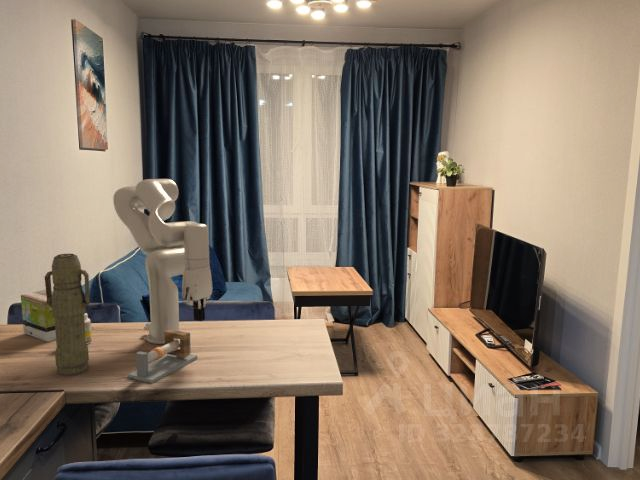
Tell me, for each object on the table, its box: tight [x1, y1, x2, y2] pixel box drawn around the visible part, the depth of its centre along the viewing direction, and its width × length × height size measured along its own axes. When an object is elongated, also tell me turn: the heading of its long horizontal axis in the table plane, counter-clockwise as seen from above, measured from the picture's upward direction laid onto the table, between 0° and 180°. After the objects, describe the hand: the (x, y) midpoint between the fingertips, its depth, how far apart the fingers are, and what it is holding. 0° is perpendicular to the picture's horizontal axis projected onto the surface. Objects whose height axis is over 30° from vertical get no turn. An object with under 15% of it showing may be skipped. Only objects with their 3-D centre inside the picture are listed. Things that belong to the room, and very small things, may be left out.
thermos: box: [44, 253, 91, 377], centre depth 154 cm, size 9×12×35 cm
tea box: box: [20, 289, 56, 343], centre depth 186 cm, size 15×10×15 cm, turn 58°
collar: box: [164, 329, 190, 358], centre depth 164 cm, size 8×2×7 cm, turn 66°
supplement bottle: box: [84, 312, 92, 345], centre depth 179 cm, size 6×6×10 cm
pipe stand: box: [127, 332, 198, 384], centre depth 159 cm, size 9×21×8 cm, turn 156°
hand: (199, 319), depth 167 cm, fingers closed
